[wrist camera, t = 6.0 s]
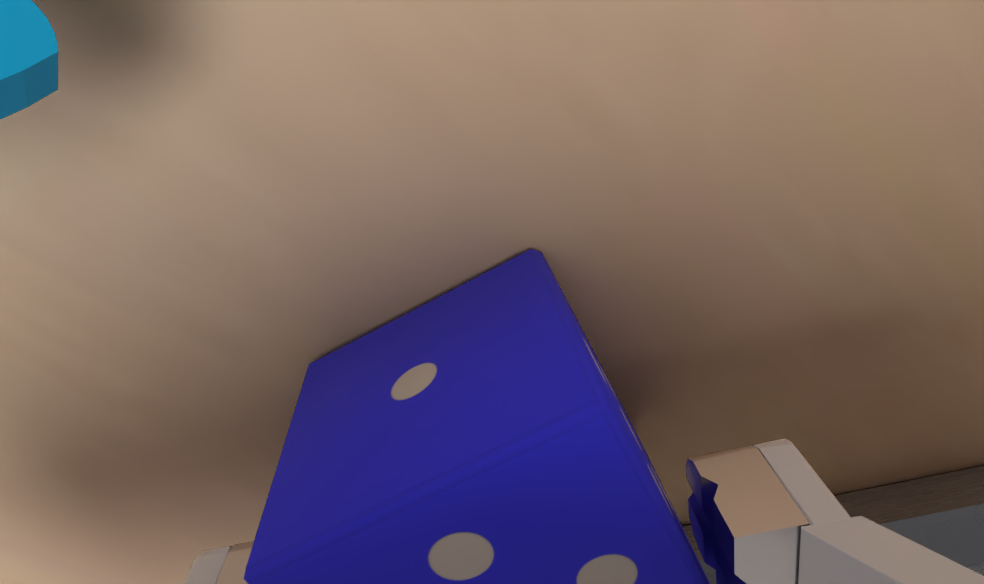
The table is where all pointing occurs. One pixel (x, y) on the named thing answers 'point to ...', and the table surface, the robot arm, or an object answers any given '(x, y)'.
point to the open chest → (920, 515)
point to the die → (469, 455)
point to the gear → (25, 56)
